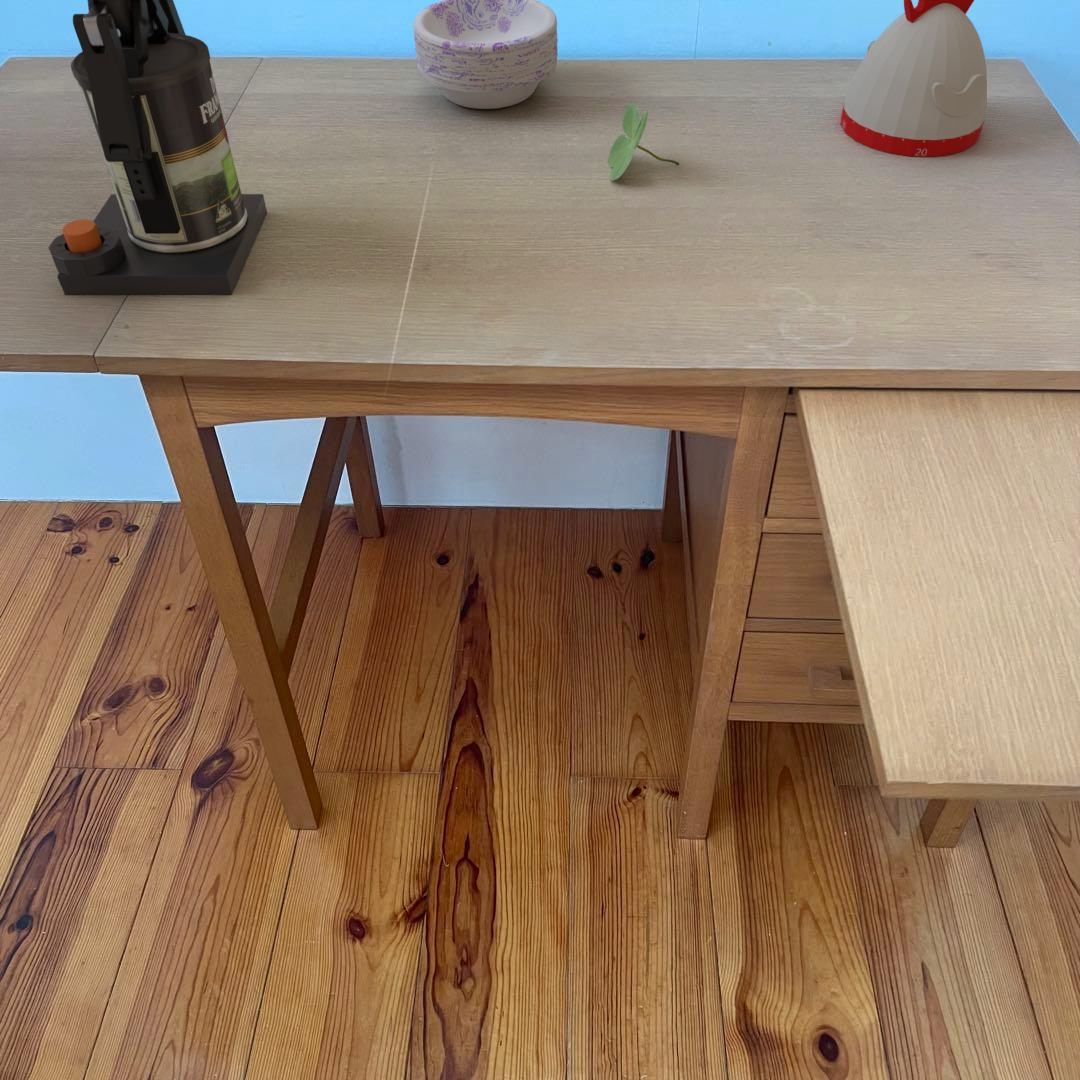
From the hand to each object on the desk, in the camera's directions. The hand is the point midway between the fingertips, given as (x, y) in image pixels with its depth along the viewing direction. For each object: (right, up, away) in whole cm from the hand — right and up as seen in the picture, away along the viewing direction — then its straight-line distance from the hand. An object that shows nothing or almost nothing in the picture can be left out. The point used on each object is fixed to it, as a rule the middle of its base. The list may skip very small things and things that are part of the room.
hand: (180, 199), depth 86 cm
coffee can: (0, -2, +2) cm, 2 cm away
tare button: (-7, -5, -3) cm, 9 cm away
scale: (-1, -4, +2) cm, 5 cm away
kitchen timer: (+69, +13, +18) cm, 73 cm away
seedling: (+40, +6, +12) cm, 42 cm away
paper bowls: (+25, +20, +25) cm, 41 cm away
